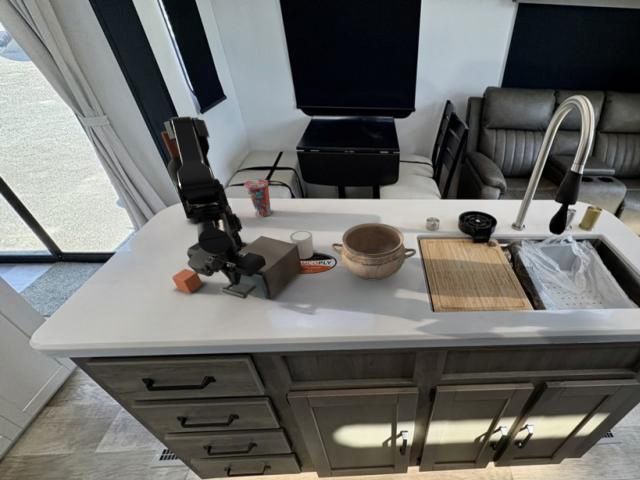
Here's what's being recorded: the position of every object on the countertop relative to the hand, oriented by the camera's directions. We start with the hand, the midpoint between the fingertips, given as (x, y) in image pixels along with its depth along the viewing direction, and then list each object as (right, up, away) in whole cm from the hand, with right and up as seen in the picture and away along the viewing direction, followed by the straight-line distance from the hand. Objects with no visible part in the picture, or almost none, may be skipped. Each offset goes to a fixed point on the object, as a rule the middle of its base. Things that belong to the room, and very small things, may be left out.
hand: (236, 284), depth 84 cm
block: (-17, 0, +8) cm, 19 cm away
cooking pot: (+34, +4, +16) cm, 38 cm away
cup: (-11, +30, +43) cm, 53 cm away
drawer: (+2, 0, +8) cm, 9 cm away
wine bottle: (-32, +26, +38) cm, 56 cm away
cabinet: (+4, +2, +12) cm, 13 cm away
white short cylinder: (+11, +11, +22) cm, 27 cm away
